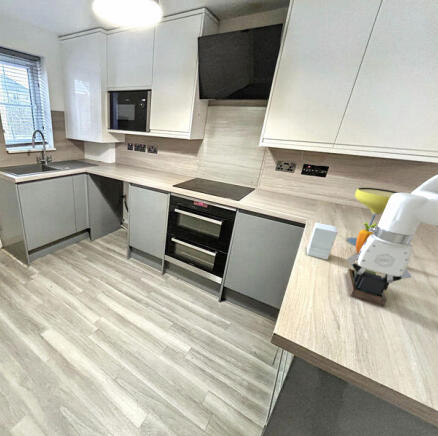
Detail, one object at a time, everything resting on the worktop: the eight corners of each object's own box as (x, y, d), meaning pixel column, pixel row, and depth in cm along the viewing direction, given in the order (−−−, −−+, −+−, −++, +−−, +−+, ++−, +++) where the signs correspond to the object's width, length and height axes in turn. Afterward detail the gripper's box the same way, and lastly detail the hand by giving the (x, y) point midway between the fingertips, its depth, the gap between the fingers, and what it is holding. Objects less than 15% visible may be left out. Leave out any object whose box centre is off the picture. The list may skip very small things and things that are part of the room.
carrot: (349, 254, 101) (363, 222, 95) (352, 250, 104) (365, 219, 99) (364, 258, 98) (379, 225, 92) (366, 255, 101) (381, 223, 95)
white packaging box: (326, 253, 101) (336, 226, 96) (327, 260, 95) (338, 232, 91) (306, 247, 105) (315, 221, 100) (306, 254, 99) (315, 227, 94)
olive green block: (370, 281, 82) (375, 271, 80) (373, 288, 78) (378, 278, 76) (352, 276, 84) (356, 266, 83) (354, 283, 80) (358, 273, 79)
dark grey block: (376, 286, 76) (381, 276, 74) (379, 294, 72) (385, 284, 70) (356, 280, 78) (361, 270, 77) (358, 288, 74) (363, 277, 73)
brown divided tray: (374, 282, 82) (377, 276, 81) (383, 306, 71) (386, 299, 70) (346, 274, 86) (348, 268, 85) (350, 296, 75) (353, 289, 74)
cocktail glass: (394, 248, 108) (420, 195, 99) (378, 257, 99) (405, 200, 90) (348, 232, 122) (367, 186, 113) (331, 239, 114) (349, 189, 105)
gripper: (356, 232, 69) (335, 282, 76) (440, 249, 61) (408, 305, 68) (353, 224, 75) (334, 272, 82) (429, 239, 67) (401, 291, 73)
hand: (368, 286), depth 75 cm, fingers closed on dark grey block, 4 cm apart
